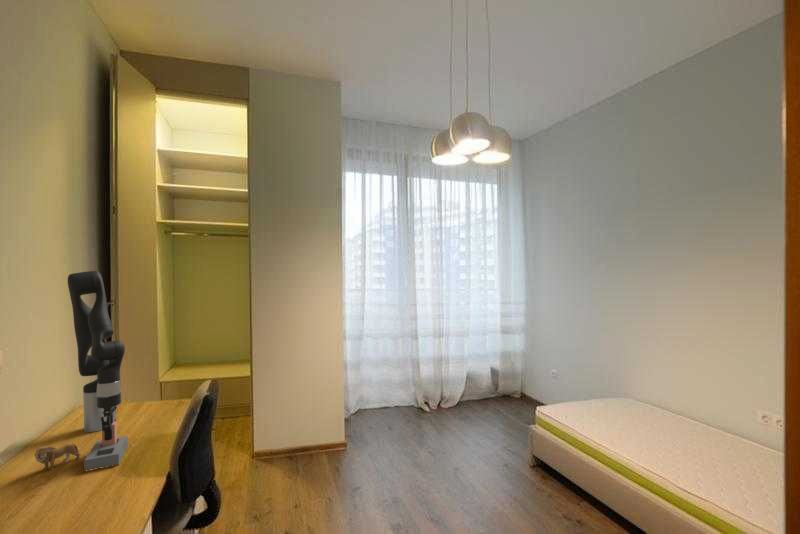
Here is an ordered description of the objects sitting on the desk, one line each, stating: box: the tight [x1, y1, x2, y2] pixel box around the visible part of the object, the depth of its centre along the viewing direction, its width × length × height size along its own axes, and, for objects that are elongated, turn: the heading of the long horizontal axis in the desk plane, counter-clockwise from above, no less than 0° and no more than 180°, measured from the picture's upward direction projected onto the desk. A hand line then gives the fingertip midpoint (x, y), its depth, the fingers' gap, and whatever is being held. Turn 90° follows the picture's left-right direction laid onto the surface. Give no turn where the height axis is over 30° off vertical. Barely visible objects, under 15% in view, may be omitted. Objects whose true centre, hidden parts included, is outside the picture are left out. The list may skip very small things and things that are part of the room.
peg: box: [101, 420, 118, 446], centre depth 154 cm, size 4×4×10 cm
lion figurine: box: [34, 442, 81, 471], centre depth 145 cm, size 15×5×9 cm, turn 165°
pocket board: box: [83, 435, 129, 472], centre depth 150 cm, size 18×10×4 cm, turn 26°
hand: (109, 437), depth 154 cm, fingers closed on peg, 4 cm apart
